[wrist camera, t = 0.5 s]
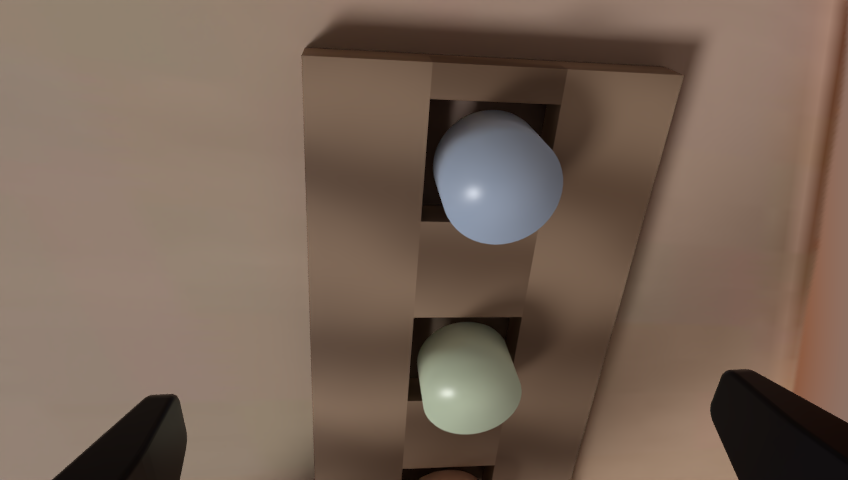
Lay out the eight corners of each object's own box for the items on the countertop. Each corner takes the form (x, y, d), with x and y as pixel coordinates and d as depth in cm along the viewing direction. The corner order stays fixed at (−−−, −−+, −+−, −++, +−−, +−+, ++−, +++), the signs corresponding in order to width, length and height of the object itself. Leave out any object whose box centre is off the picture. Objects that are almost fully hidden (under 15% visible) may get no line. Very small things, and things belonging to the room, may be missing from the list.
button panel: (547, 510, 32) (555, 535, 31) (318, 522, 31) (316, 548, 29) (663, 66, 21) (684, 75, 19) (305, 47, 19) (301, 55, 18)
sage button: (500, 392, 26) (513, 432, 24) (414, 394, 25) (419, 435, 23) (513, 321, 24) (528, 358, 22) (420, 322, 23) (426, 359, 21)
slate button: (532, 215, 22) (551, 244, 19) (429, 213, 21) (437, 243, 19) (550, 112, 20) (573, 132, 18) (437, 107, 19) (447, 128, 17)
